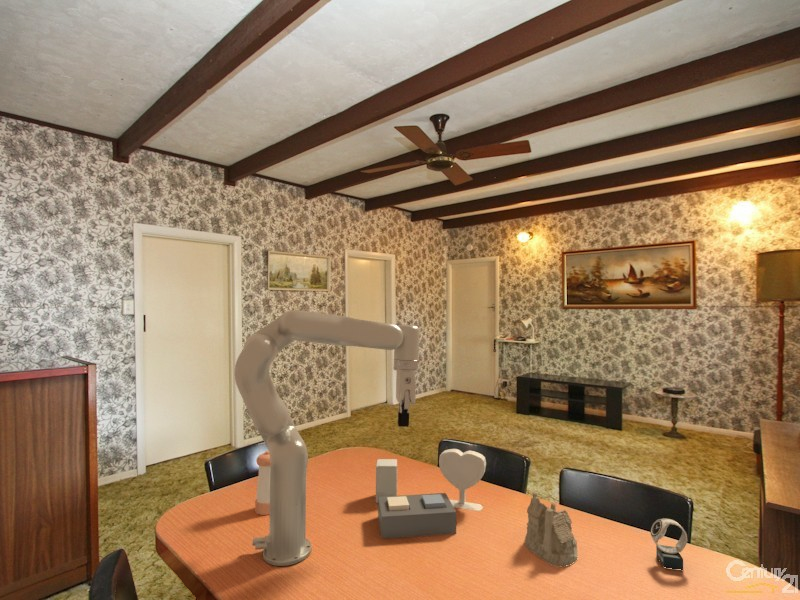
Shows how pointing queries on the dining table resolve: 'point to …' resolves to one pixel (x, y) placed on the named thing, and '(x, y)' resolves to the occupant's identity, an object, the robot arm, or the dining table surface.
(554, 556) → the ceramic cottage
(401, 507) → the cream key
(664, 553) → the watch
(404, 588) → the dining table surface
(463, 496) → the heart sculpture
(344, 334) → the robot arm
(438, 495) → the slate blue key
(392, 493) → the supplement box
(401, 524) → the control pad
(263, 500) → the pepper shaker
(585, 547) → the dining table surface
